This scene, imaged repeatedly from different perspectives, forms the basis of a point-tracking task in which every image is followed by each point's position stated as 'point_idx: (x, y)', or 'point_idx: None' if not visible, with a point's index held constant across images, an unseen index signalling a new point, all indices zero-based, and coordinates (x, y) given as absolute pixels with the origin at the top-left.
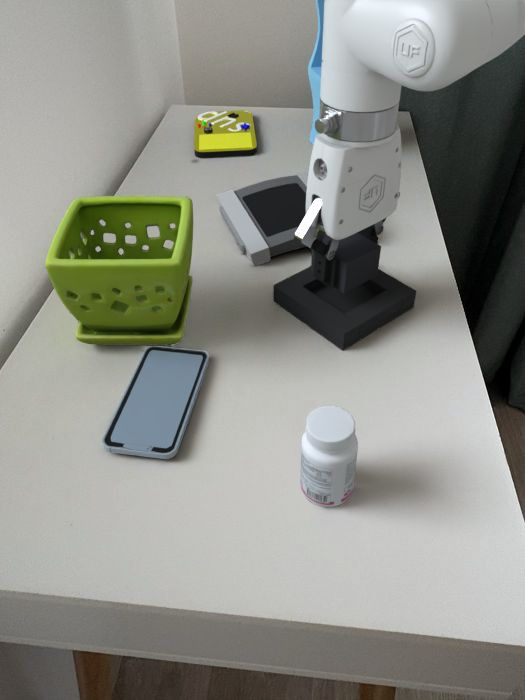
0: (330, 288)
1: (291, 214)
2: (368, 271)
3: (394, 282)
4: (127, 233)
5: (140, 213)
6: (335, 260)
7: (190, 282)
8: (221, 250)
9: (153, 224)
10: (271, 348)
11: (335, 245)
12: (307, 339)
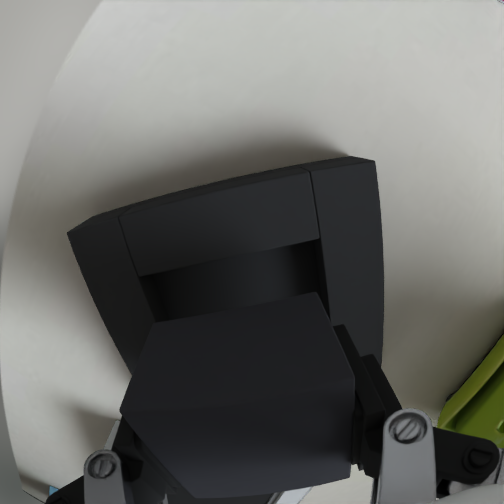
0: None
1: (215, 499)
2: (195, 338)
3: (104, 292)
4: None
5: None
6: (383, 405)
7: (452, 417)
8: None
9: None
10: (452, 246)
11: (400, 468)
12: (390, 235)
